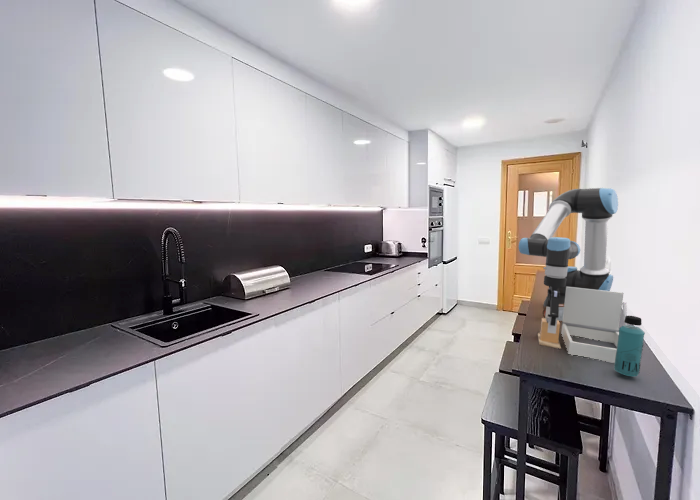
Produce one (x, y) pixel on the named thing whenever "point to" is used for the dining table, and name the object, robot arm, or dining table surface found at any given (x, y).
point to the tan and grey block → (549, 336)
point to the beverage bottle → (629, 347)
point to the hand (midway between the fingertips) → (550, 327)
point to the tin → (560, 313)
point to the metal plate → (548, 343)
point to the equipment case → (592, 321)
